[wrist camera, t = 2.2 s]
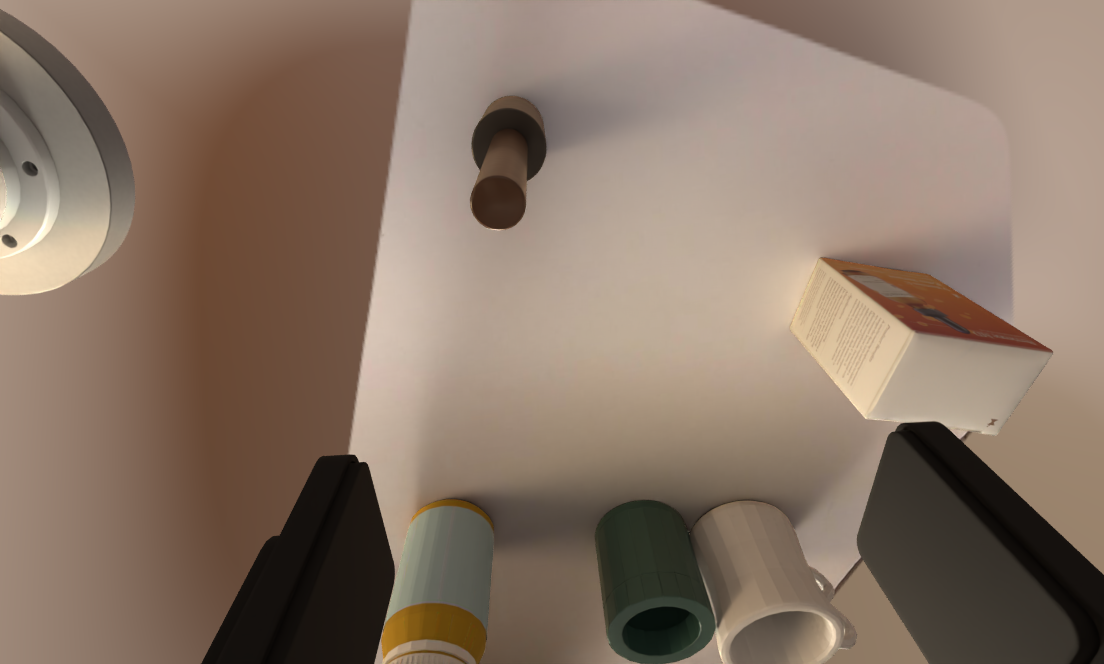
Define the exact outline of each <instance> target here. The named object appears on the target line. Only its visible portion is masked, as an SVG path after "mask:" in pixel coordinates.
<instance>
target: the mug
mask: <svg viewBox="0 0 1104 664" xmlns="http://www.w3.org/2000/svg"><path fill="white" fill-rule="evenodd" d="M689 538H690V541H691V544H692V547H693V550H694V553H695V557H696V560H697V563H698V566H699V569H700V572H701V576H702V579H703V582H704V585H705V588H706V592H707V595H708V598H709V601H710V604H711V607H712V611H713V614H714V617H715V624H716V629H715V633H716V639H717V644H718V649H719V653H720V657H721V660H722V661H723V663H724V664H824V663H825V662H826V661H828V660H829V659H830V658H831V657H832V656H834V654H835V653H836V652H837V650H838V649H850V648H851V647H853V646H854V645H855V642H856V638H857V634H856V631H855V628H854V626H853V625H852V623H851V622H850V621H849V620H848V619H847V617H845V616H844V615H843V614H842V613H841V612H840V611H839V610H838V609H836V608H835V607H834V606H833V605H832V604H830V601H831V600H832V599H833V596H834V592H835V591H834V589H833V586H832V584H831V583H830V582H829V581H828V580H827V579H826V578H825V577H824V576H823V575H822V574H821V573H819V572H818V571H817V570H815V569H814V568H812V567H810V566H809V565H808V564H807V562H806V560H805V557H804V555H803V552H802V549H801V547H800V544H799V541H798V538H797V535H796V533H795V531H794V528H793V526H792V524H791V523H790V521H789V519H788V518H787V516H786V515H785V514H784V513H783V512H781V511H780V510H779V509H778V508H776V507H774V506H772V505H769V504H767V503H763V502H757V501H750V500H748V501H735V502H731V503H727V504H723V505H721V506H719V507H716V508H714V509H712V510H711V511H709V512H708V513H706V514H705V515H704V516H702V517H701V518H700V520H699V521H698V522H697V523H696V524H695V525H694V526H693V528H692V530H691V532H690V534H689ZM818 585H819V586H820V587H821V588H822V591H821V589H820V588H819V586H818Z"/></svg>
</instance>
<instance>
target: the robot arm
mask: <svg viewBox="0 0 1104 664" xmlns="http://www.w3.org/2000/svg"><path fill="white" fill-rule="evenodd" d="M59 203H60V190H59V180H58V176H57V172H56V168H55V165H54V161H53V159H52V157H51V155H50V153H49V150H48V148H47V146H46V144H45V142H44V140H43V138H42V137H41V135H40V134H39V132H38V131H37V129H36V128H35V126H34V125H33V123H32V122H31V120H30V119H29V118H28V117H27V116H26V114H25V113H24V112H23V111H22V110H21V109H20V107H19V106H18V105H17V104H16V103H15V102H14V100H12V99H11V98H10V97H9V96H8V95H7V94H6V93H5V92H4V91H2V90H1V89H0V258H4V257H9V256H12V255H14V254H17V253H19V252H22V251H24V250H27V249H29V248H30V247H32V246H33V245H35V244H37V243H38V242H40V241H41V240H42V239H43V238H44V237H45V236H46V234H47V233H48V232H49V231H50V230H51V228H52V226H53V224H54V222H55V220H56V217H57V215H58V209H59ZM857 546H858V550H859V553H860V555H861V557H862V559H863V560H864V562H865V563H866V565H867V567H868V568H869V570H870V571H871V573H872V575H873V576H874V578H875V579H876V581H877V582H878V584H879V586H880V587H881V589H882V590H883V592H884V593H885V595H886V596H887V598H888V600H889V601H890V603H891V604H892V606H893V608H894V609H895V611H896V612H897V614H898V615H899V617H900V619H901V620H902V622H903V623H904V625H905V626H906V628H907V630H908V631H909V633H910V634H911V636H912V637H913V639H914V641H915V642H916V644H917V645H918V647H919V648H920V650H921V652H922V653H923V655H924V656H925V658H926V659H927V661H928V663H929V664H1104V575H1103V574H1102V573H1101V572H1100V571H1099V570H1098V569H1097V568H1096V567H1094V565H1093V564H1091V563H1090V562H1089V561H1088V560H1087V559H1086V558H1085V557H1084V556H1083V555H1082V554H1081V553H1080V552H1079V551H1077V549H1075V548H1074V547H1073V546H1072V545H1071V544H1070V543H1069V542H1068V541H1067V540H1066V539H1065V538H1064V537H1063V536H1062V535H1060V533H1058V532H1057V531H1056V530H1055V529H1054V528H1053V527H1052V526H1051V525H1050V524H1049V523H1048V522H1047V521H1046V520H1045V519H1044V518H1043V517H1041V516H1040V515H1039V514H1038V513H1037V512H1036V511H1035V510H1034V509H1033V508H1032V507H1031V506H1030V505H1029V504H1028V503H1027V502H1026V501H1024V500H1023V499H1022V498H1021V497H1020V496H1019V495H1018V494H1017V493H1016V492H1015V491H1014V490H1013V489H1012V488H1011V487H1010V486H1009V485H1007V484H1006V483H1005V482H1004V481H1003V480H1002V479H1001V478H1000V477H999V476H998V475H997V474H996V473H995V472H994V471H993V470H991V469H990V468H989V467H988V466H987V465H986V464H985V463H984V462H983V461H982V460H981V459H980V458H979V457H978V456H977V455H976V454H974V453H973V452H972V451H971V450H970V449H969V448H968V447H967V446H966V445H965V444H964V443H963V442H962V441H961V440H960V439H959V438H957V437H956V436H955V435H954V434H953V433H952V432H951V431H950V430H949V429H948V428H947V427H946V426H944V425H943V424H942V423H940V422H936V421H927V422H910V423H902V424H900V425H899V426H898V427H897V429H896V431H895V432H891V433H890V434H889V436H888V438H887V441H886V444H885V447H884V450H883V454H882V457H881V460H880V463H879V467H878V470H877V473H876V476H875V480H874V483H873V486H872V489H871V493H870V496H869V499H868V502H867V506H866V509H865V512H864V515H863V519H862V522H861V525H860V528H859V532H858V535H857ZM394 578H395V567H394V561H393V558H392V554H391V550H390V546H389V542H388V539H387V535H386V531H385V527H384V523H383V519H382V516H381V512H380V508H379V504H378V500H377V497H376V493H375V489H374V485H373V481H372V477H371V474H370V470H369V467H368V464H367V463H366V462H359V461H358V459H357V457H356V456H355V455H334V456H322V457H320V458H319V459H318V461H317V462H316V464H315V466H314V468H313V470H312V472H311V474H310V476H309V478H308V480H307V482H306V484H305V486H304V488H303V490H302V492H301V494H300V496H299V498H298V500H297V502H296V504H295V506H294V508H293V510H292V512H291V514H290V516H289V518H288V520H287V522H286V524H285V526H284V528H283V530H282V532H281V534H280V536H273V537H271V538H270V539H269V540H267V541H266V543H265V544H264V546H263V547H262V549H261V550H260V552H259V554H258V556H257V558H256V560H255V562H254V564H253V566H252V568H251V569H250V572H249V573H248V575H247V577H246V579H245V581H244V583H243V585H242V587H241V589H240V591H239V592H238V594H237V596H236V598H235V600H234V602H233V604H232V606H231V608H230V610H229V612H228V614H227V615H226V617H225V619H224V621H223V623H222V625H221V627H220V629H219V631H218V633H217V635H216V636H215V638H214V640H213V642H212V644H211V646H210V648H209V650H208V652H207V654H206V656H205V658H204V659H203V661H202V663H201V664H374V662H375V658H376V654H377V650H378V646H379V642H380V638H381V634H382V630H383V626H384V622H385V618H386V613H387V609H388V605H389V601H390V597H391V593H392V589H393V585H394Z"/></svg>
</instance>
